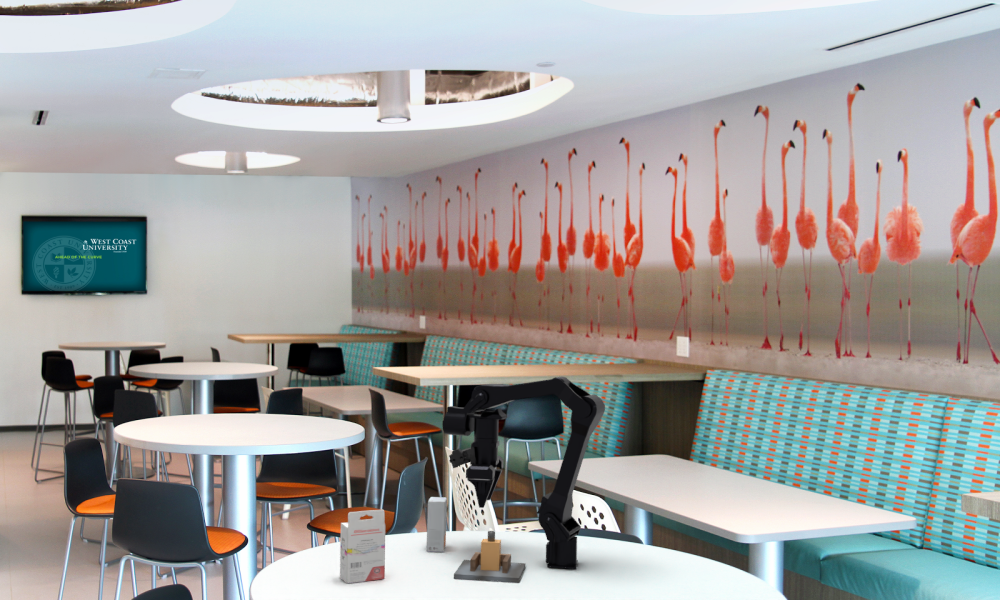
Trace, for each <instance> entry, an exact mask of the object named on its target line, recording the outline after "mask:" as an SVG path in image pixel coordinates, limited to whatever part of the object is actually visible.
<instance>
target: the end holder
mask: <svg viewBox="0 0 1000 600" xmlns="http://www.w3.org/2000/svg"><path fill="white" fill-rule="evenodd" d="M526 567H527V565H526V562H512V554H511V553H501V567H500V570H499V571H492V570H481V551H480V552H479V551H475V552H474V553H473V554H472V556H471V558H470V559H463V561H462V562H461V563H460V564H459V566H458V568H457V569H456V570H455V572H454V573H453V579H454V580H464V581H465V580H467V581H483V582H497V583H499V582H500V583H501V582H502V583H515V584H519V583H520V582H521V579H522V577H523V576H524V572H525V570H526Z"/></svg>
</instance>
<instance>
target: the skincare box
mask: <svg viewBox="0 0 1000 600" xmlns="http://www.w3.org/2000/svg"><path fill="white" fill-rule="evenodd" d="M447 503H448V498H447V497H444V496H443V497H441V496H430V498H428V501H427V517H426V518H427V521H426V524H427V525H426V526H427V527H426V552H428V553H429V552H434V553H444V551H445V548H446V543H447V541H446V540H447V512H448V511H447V510H448V509H447V508H448V507H447V506H448V504H447Z"/></svg>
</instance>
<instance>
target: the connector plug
mask: <svg viewBox="0 0 1000 600" xmlns="http://www.w3.org/2000/svg"><path fill="white" fill-rule="evenodd" d="M480 552H481V570H492V571H499V570H500V567H501V554H502V539H496V531H495V530H488V531H487V538H483V539H482V540H481V542H480Z"/></svg>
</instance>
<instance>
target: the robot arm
mask: <svg viewBox="0 0 1000 600" xmlns="http://www.w3.org/2000/svg"><path fill="white" fill-rule="evenodd" d="M552 395H554V396H556V397H557V398H558V399H559V400H560V401H561V402H562V403H563V404H564V406H565V407H567V408H568V409H570V410H571V417H570V430H571V432H570V435H569V438H568V439H569V440H568V442H567V445H566V449H565V453H564V455H563V458H562V462H561V465H560V469H559V471H558V475H557V478H556V481H555V484H554V488H553V490H552V492H551V491H550V492H549V493H547V494H545V495H543V496H541V502H540V507H539V509H538V510H537V512H536V514H537V515H538V514H539V515H538V519H537V520H538V523H539V525H540V527H541V528H542V530H544V533H545V537H546V540H547V541H548V542H546V544H545V563H546V567H547V568H549V569H550V568H551V569H553V568H554V569H568V570H576V569H577V566H578V563H579V562H578V559H577V557H578V536H579V534H580V531H581V529H582V526H581V525H580V524H579V523H578V521H577V520H576V519H575V518H574V517H573V516H572V515H573V509H574V508H573V507H574V503H573V501H574V500H573V493H574V489H575V486H576V483H577V479H578V476H579V473H580V471H581V467H582V463H583V460H584V457H585V455H586V451H587V448H588V445H589V441H590V439H591V438H590V437H591V435H592V434H593V433H594V432H595V430H596V429H597V427H598V425H599V423H600V421H601V419H602V417H603V416H604V414H605V411H606V405H605V403H604V401H603V399H601V397H599V396H598V395H595V394H590V393H589V392H587V391H586V390H584V389H583V388H582V387H580V386H578V385H577V384H574V383H573V382H572V381H571V380H570V379H568V378H567V377H566V376H557V377H553V378H550V379H544V380H543V379H542V380H537V381H531V382H524V383H518V384H506V383H486V384H480V385H477V386H475V387H474V388H473V390H472V392H471V397H470V399H469V401H467V403H466V404H465V405H464V407H458V406H453V405H451V406H447V408H446V413H445V414H444V416H443V420H442V424H441V425H442V430H443V433H444V435H450V436H459V437H461V436H463V437H469V436H471V434H472V433H473V441H472V443H471V444H470V447H467V448H465V449H464V448H463V449H460V448H456V449H453V450H451V451H452V452H451V453H450V454H449V455H448V457H449V463H450V464H451V466H452V469H456V468H458V467H460V466H462V465H467V464H468V463H469V465H470V466H468V467H467V469H465V479H466V480H467V481H468V482H470V483H471V484H472V486H474V491H475V494H476V499H477V504H478V508H481V509H483V508H484V507H485V506H486V504H487V503H486V502H487V501H490V500H491V498H492V496H493V494H494V491H495V489H496V486H497V484H498V481H499V479H500V477H501V474H502V472H503V468H504V459H503V457H501V456H500V455H498V454H499V449H498V448H499V446H500V440H499V420H505V419H507V418H508V415H507V414H506V413H505V412H504V411H502V410H503V409H502V408H497V407H499V406H503V405H505V404H508V403H510V402H514V401H517V400H523V399H533V398H538V397H544V396H552ZM493 408H496V409H495V410H494V411H491V410H486V409H493ZM477 412H481V414H477Z"/></svg>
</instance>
